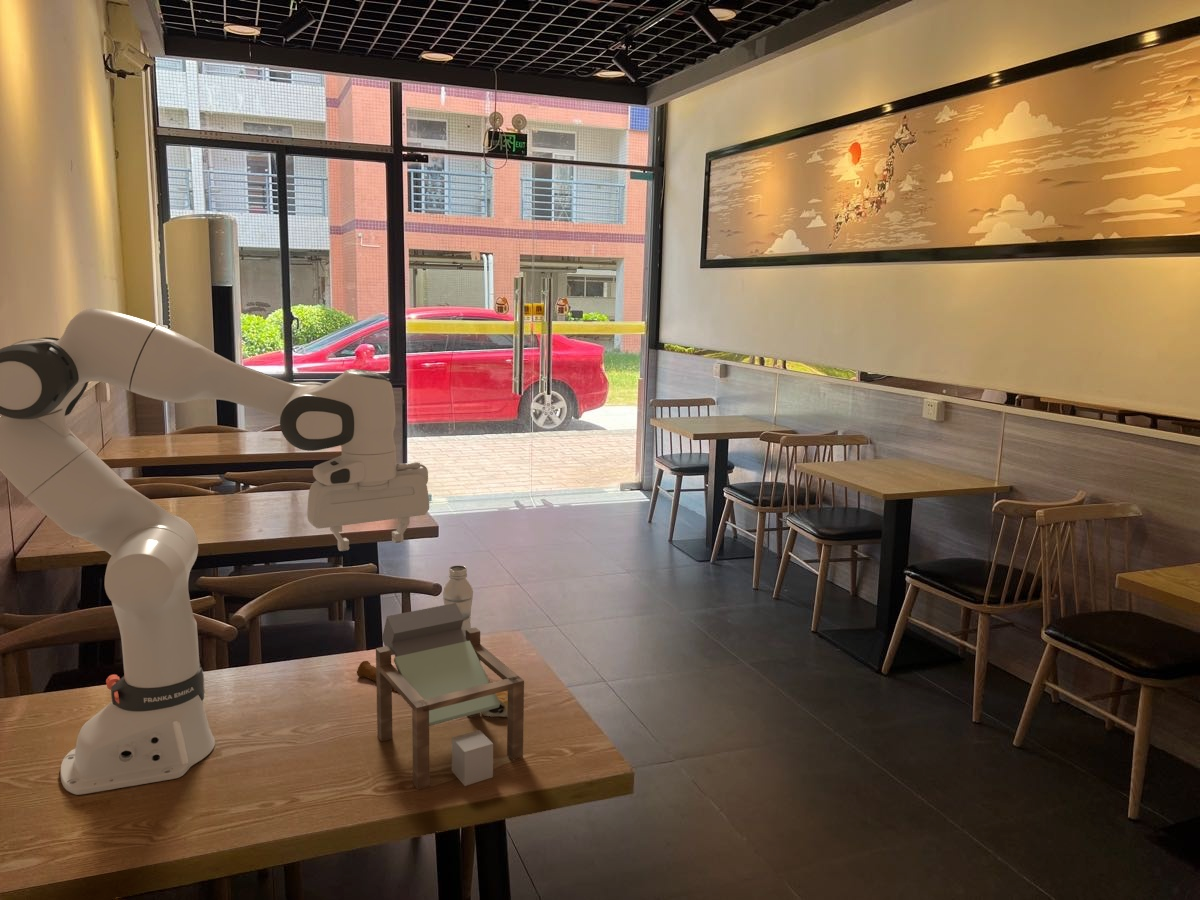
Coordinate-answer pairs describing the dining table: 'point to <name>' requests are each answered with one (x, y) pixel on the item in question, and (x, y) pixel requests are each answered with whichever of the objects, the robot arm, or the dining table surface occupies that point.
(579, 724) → the dining table surface
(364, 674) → the primitive tool
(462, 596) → the plastic bottle
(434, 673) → the trapdoor
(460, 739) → the light grey block
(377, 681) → the stand
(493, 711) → the pastry
